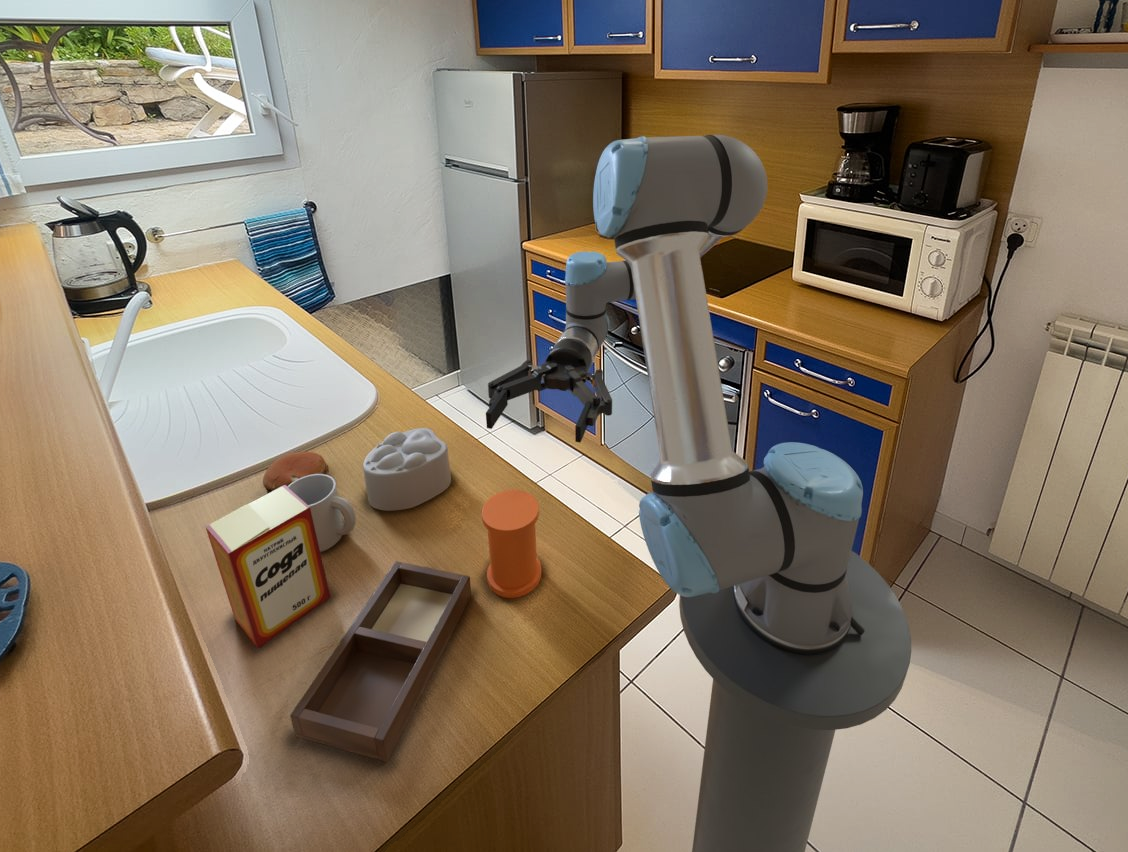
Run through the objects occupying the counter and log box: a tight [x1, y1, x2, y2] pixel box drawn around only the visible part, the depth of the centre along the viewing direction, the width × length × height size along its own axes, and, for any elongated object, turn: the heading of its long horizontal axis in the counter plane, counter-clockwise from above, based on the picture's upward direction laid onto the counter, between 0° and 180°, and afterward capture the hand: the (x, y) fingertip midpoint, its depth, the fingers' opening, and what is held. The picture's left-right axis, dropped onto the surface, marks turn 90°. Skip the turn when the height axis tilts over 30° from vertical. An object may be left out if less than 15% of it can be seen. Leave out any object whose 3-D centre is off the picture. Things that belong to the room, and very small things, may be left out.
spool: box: [481, 489, 542, 599], centre depth 82 cm, size 8×8×12 cm
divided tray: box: [289, 560, 472, 763], centre depth 72 cm, size 11×21×4 cm, turn 167°
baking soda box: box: [205, 485, 331, 649], centre depth 76 cm, size 10×6×16 cm
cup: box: [287, 474, 357, 553], centre depth 89 cm, size 7×10×9 cm
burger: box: [262, 451, 330, 494], centre depth 100 cm, size 10×9×5 cm
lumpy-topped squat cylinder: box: [362, 427, 452, 512], centre depth 99 cm, size 10×13×9 cm
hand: (532, 427), depth 86 cm, fingers open, 13 cm apart
